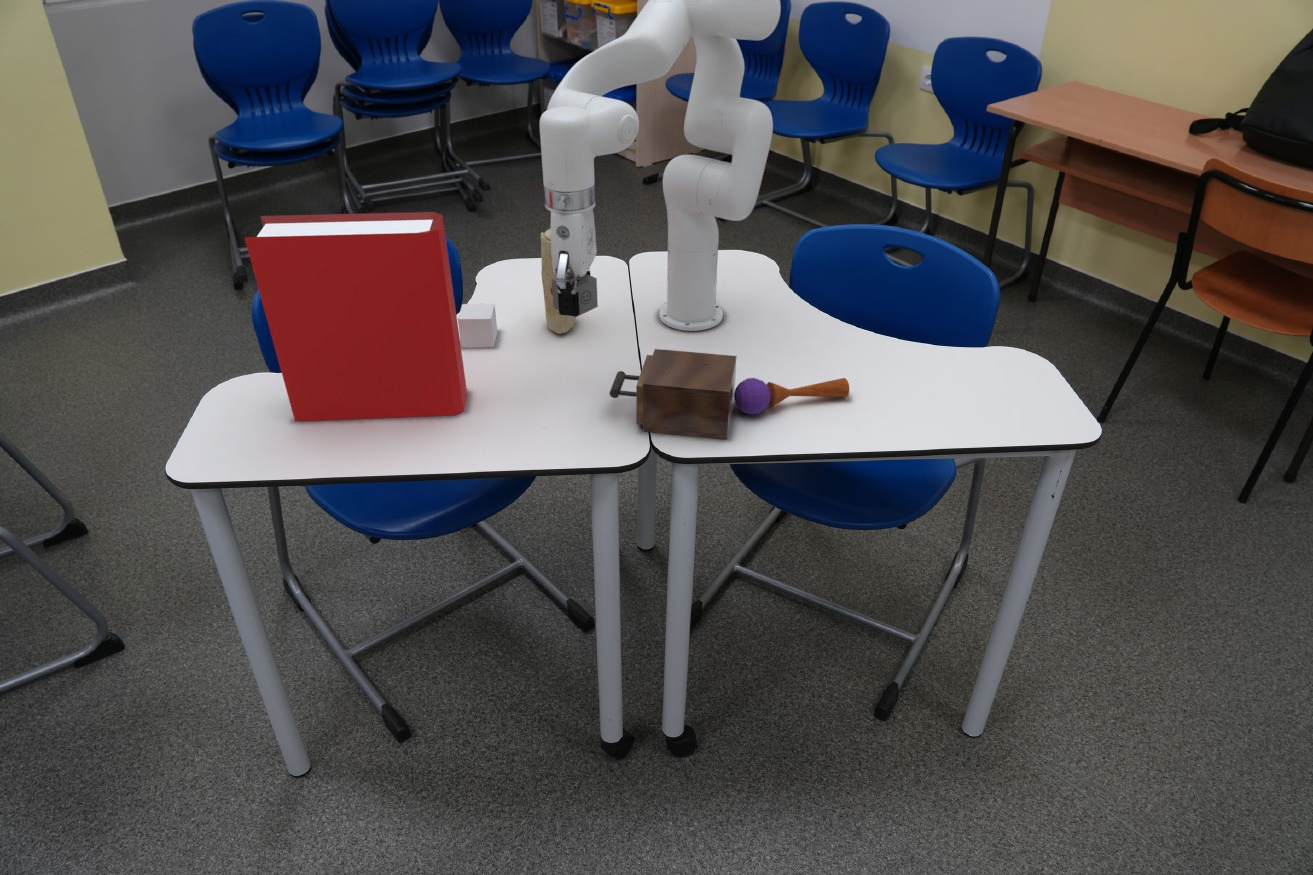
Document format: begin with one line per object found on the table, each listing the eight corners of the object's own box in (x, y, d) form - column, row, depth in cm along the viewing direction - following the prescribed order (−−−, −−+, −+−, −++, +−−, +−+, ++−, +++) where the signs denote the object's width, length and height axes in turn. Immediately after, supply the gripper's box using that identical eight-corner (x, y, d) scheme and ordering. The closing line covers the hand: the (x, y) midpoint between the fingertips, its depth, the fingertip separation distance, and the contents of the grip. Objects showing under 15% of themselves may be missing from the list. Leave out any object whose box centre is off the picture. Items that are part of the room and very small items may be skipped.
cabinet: (643, 431, 146) (642, 383, 141) (654, 395, 155) (654, 348, 150) (727, 439, 144) (729, 391, 139) (733, 402, 153) (736, 355, 148)
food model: (577, 338, 171) (572, 238, 160) (542, 337, 171) (534, 238, 160) (582, 314, 179) (577, 217, 168) (548, 313, 179) (541, 217, 168)
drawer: (607, 421, 147) (606, 383, 143) (619, 389, 155) (618, 352, 151) (713, 431, 145) (715, 393, 141) (720, 398, 153) (722, 361, 149)
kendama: (856, 386, 150) (745, 396, 145) (846, 412, 154) (737, 423, 149) (842, 363, 154) (733, 372, 149) (833, 389, 158) (726, 398, 153)
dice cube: (575, 297, 148) (574, 269, 145) (597, 306, 145) (596, 278, 142) (553, 307, 145) (551, 279, 142) (575, 317, 142) (573, 288, 139)
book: (295, 421, 148) (244, 237, 130) (306, 395, 155) (260, 216, 136) (463, 415, 150) (437, 232, 131) (467, 389, 156) (443, 211, 138)
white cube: (494, 347, 168) (490, 318, 165) (461, 348, 168) (457, 319, 165) (497, 331, 173) (494, 303, 170) (466, 332, 173) (462, 304, 170)
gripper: (580, 219, 127) (585, 331, 137) (607, 177, 141) (610, 282, 151) (528, 215, 128) (537, 327, 138) (560, 174, 142) (566, 278, 152)
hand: (575, 303), depth 145 cm, fingers closed on dice cube, 7 cm apart
